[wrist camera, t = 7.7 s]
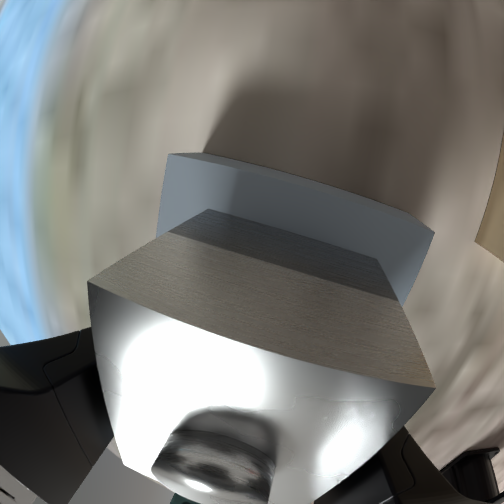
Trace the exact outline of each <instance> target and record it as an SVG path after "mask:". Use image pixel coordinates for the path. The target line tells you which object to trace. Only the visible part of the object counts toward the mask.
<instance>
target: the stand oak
mask: <svg viewBox="0 0 504 504" xmlns="http://www.w3.org/2000/svg"><path fill="white" fill-rule="evenodd" d="M475 242H476V243H477V244H479V245H480V246H482V247H483V248H485V249H486V250H488V251H489V252H490V253H492V254H493V255H495V256H496V257H497V258H499V259H500V260H501V261H503V262H504V135H503V141H502V146H501V152H500V157H499V162H498V166H497V171H496V175H495V179H494V183H493V187H492V191H491V194H490V198H489V201H488V204H487V208H486V211H485V214H484V217H483V220H482V223H481V226H480V229H479V232H478V234H477V237H476V240H475Z"/></svg>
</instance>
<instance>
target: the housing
mask: <svg viewBox="0 0 504 504" xmlns="http://www.w3.org/2000/svg"><path fill="white" fill-rule="evenodd" d="M87 285H88V299H89V310H90V319H91V328H92V335H93V342H94V349H95V355H96V361H97V366H98V372H99V377H100V382H101V386H102V391H103V395H104V399H105V404H106V407H107V411H108V415H109V419H110V422H111V426H112V429H113V433H114V436H115V439H116V442H117V446H118V449H119V452H120V455H121V457H122V460H123V463H124V465H126V466H128V467H129V468H132V469H134V470H135V471H137V472H140V473H142V474H144V475H146V476H148V477H150V478H152V479H155V480H157V481H159V482H160V483H161V484H163V485H164V486H165V487H167V488H168V489H170V490H172V491H173V492H175V493H177V494H179V495H181V496H183V497H185V498H187V499H190V500H192V501H195V502H197V503H200V504H310V503H311V502H313V501H314V500H316V499H317V498H319V497H320V496H322V495H323V494H325V493H326V492H328V491H329V490H330V489H332V488H333V487H334V486H336V485H337V484H339V483H340V482H341V481H342V480H344V479H345V478H346V477H348V476H349V475H350V474H351V473H353V472H354V471H355V470H356V469H358V468H359V467H360V466H361V465H362V464H364V463H365V462H366V461H367V460H368V459H369V458H370V457H372V456H373V455H374V454H375V453H376V452H377V451H378V450H379V449H380V448H381V447H383V446H384V445H385V444H386V443H387V442H388V441H389V440H390V439H391V438H392V437H393V436H394V435H395V434H396V433H397V432H398V431H399V430H400V429H401V428H402V427H403V426H404V425H405V424H406V423H407V421H408V420H409V419H410V418H411V417H412V416H413V415H414V414H415V413H416V412H417V410H418V409H419V408H420V407H421V406H422V405H423V404H424V402H425V401H426V400H427V399H428V398H429V396H430V395H431V394H432V393H433V391H434V390H435V389H436V386H435V383H434V381H433V378H432V376H431V373H430V370H429V368H428V365H427V363H426V360H425V358H424V355H423V353H422V351H421V348H420V346H419V344H418V341H417V339H416V337H415V334H414V332H413V330H412V328H411V325H410V323H409V321H408V319H407V317H406V315H405V313H404V310H403V308H402V306H401V304H400V302H399V300H398V298H397V296H396V294H395V292H394V290H393V288H392V286H391V284H390V282H389V280H388V278H387V277H386V275H385V273H384V271H383V269H382V267H381V265H380V263H379V262H378V260H377V259H376V258H373V257H370V256H367V255H363V254H360V253H357V252H354V251H351V250H348V249H345V248H342V247H338V246H335V245H332V244H329V243H326V242H322V241H319V240H316V239H313V238H309V237H306V236H303V235H299V234H296V233H293V232H289V231H286V230H283V229H279V228H276V227H272V226H269V225H266V224H262V223H259V222H255V221H252V220H248V219H245V218H241V217H238V216H234V215H231V214H227V213H223V212H220V211H216V210H213V209H209V208H208V209H207V210H205V211H203V212H201V213H199V214H198V215H196V216H194V217H192V218H190V219H189V220H187V221H185V222H183V223H181V224H180V225H178V226H176V227H174V228H173V229H171V230H169V231H168V232H166V233H164V234H162V235H161V236H159V237H157V238H156V239H154V240H152V241H150V242H149V243H147V244H145V245H144V246H142V247H140V248H139V249H137V250H135V251H134V252H132V253H131V254H129V255H127V256H126V257H124V258H122V259H121V260H119V261H118V262H116V263H114V264H113V265H111V266H110V267H108V268H106V269H105V270H103V271H102V272H100V273H99V274H97V275H96V276H94V277H92V278H91V279H89V280H88V281H87Z"/></svg>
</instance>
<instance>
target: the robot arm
mask: <svg viewBox="0 0 504 504" xmlns="http://www.w3.org/2000/svg"><path fill="white" fill-rule="evenodd" d="M113 437H114V433H113V429H112V426H111V422H110V419H109V415H108V411H107V407H106V404H105V399H104V395H103V391H102V386H101V382H100V377H99V372H98V366H97V361H96V355H95V349H94V342H93V335H92V328H91V327H89V328H86V329H82V330H80V331H75V332H72V333H69V334H65V335H61V336H57V337H53V338H49V339H44V340H39V341H34V342H28V343H22V344H16V345H10V346H4V347H0V504H32V503H33V502H34V500H35V499H36V498H37V496H38V497H39V498H41V499H42V500H44V501H45V502H46V503H48V504H68V502H69V501H70V500H71V498H72V497H73V495H74V494H75V492H76V491H77V489H78V488H79V486H80V485H81V484H82V482H83V481H84V479H85V478H86V476H87V475H88V473H89V472H90V470H91V469H92V466H94V464H95V463H96V461H97V460H98V459H99V457H100V456H101V454H102V453H103V451H104V450H105V448H106V447H107V446H108V444H109V443H110V441H111V440H112V438H113ZM499 452H500V449H499V448H493V449H486V450H479V451H471V452H466V453H464V454H462V455H461V456H460V457H458V458H457V459H456V460H455V461H454V462H452V463H451V464H450V465H449V466H447V467H446V468H445V469H443V470H442V471H441V472H440V471H439V470H438V469H437V468H436V467H435V466H434V464H433V463H432V462H431V461H430V460H429V458H428V457H427V456H426V455H425V454H424V452H423V451H422V450H421V448H420V447H419V446H418V444H417V443H416V442H415V440H414V439H413V437H412V436H411V435H410V434H409V432H408V431H407V429H406V428H405V426H403V427H402V428H401V429H400V430H399V431H398V432H397V433H396V434H395V435H394V436H393V437H392V438H391V439H390V440H389V441H388V442H387V443H386V444H385V445H384V446H383V447H381V448H380V449H379V450H378V451H377V452H376V453H375V454H374V455H373V456H372V457H370V458H369V459H368V460H367V461H366V462H365V463H364V464H362V465H361V466H360V467H359V468H358V469H356V470H355V471H354V472H353V473H351V474H350V475H349V476H348V477H346V478H345V479H344V480H342V481H341V482H340V483H339V484H337V485H336V486H334V487H333V488H332V489H330V490H329V491H328V492H326V493H325V494H323V495H322V496H320V497H319V498H317V499H316V500H314V504H501V503H503V502H504V491H503V492H502V493H500V494H499V489H498V485H497V481H496V477H495V473H494V470H493V466H492V463H491V459H492V458H493V457H494V456H495V455H496V454H498V453H499Z"/></svg>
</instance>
